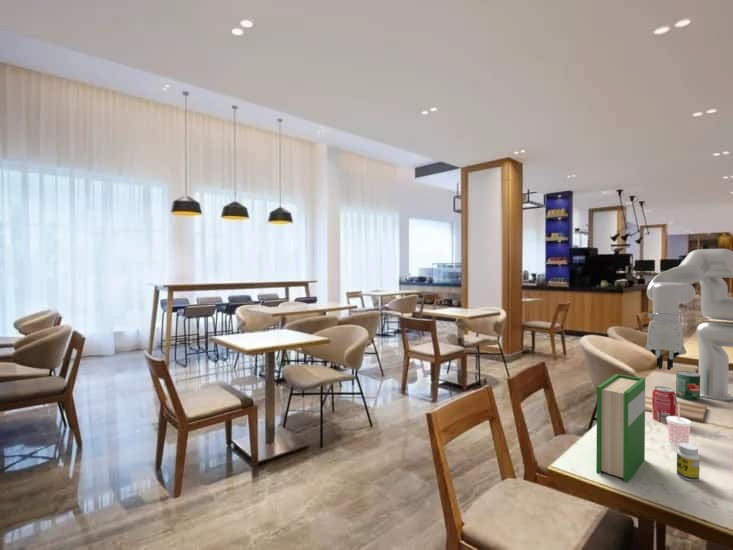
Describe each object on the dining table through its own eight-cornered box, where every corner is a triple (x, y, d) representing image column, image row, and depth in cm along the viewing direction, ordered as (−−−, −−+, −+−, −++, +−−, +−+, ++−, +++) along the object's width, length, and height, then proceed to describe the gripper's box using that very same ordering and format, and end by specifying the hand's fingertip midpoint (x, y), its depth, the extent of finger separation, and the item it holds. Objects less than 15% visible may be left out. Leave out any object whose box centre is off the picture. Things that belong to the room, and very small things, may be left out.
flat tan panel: (644, 398, 166) (644, 395, 166) (672, 404, 160) (672, 400, 160) (635, 410, 154) (635, 406, 153) (665, 417, 147) (665, 413, 147)
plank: (674, 404, 159) (673, 400, 159) (706, 409, 152) (706, 405, 152) (667, 417, 146) (667, 413, 146) (702, 423, 140) (702, 419, 140)
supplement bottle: (672, 472, 109) (672, 442, 108) (687, 471, 109) (688, 441, 109) (687, 482, 104) (688, 450, 104) (704, 481, 104) (704, 449, 104)
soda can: (667, 418, 146) (668, 386, 146) (681, 425, 139) (681, 392, 139) (647, 417, 147) (647, 385, 146) (659, 425, 140) (660, 391, 139)
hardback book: (627, 483, 104) (628, 392, 103) (596, 472, 109) (596, 386, 108) (644, 459, 116) (645, 378, 115) (615, 451, 121) (616, 373, 120)
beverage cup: (684, 454, 118) (685, 408, 118) (661, 446, 124) (662, 402, 123) (695, 450, 121) (695, 405, 121) (672, 442, 127) (672, 399, 126)
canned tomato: (697, 404, 160) (697, 377, 159) (673, 398, 166) (673, 373, 166) (702, 399, 165) (702, 373, 164) (678, 394, 171) (679, 369, 171)
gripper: (636, 317, 144) (636, 367, 145) (692, 321, 133) (691, 375, 134) (641, 315, 150) (640, 363, 150) (695, 318, 139) (694, 370, 139)
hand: (664, 368), depth 142 cm, fingers closed
